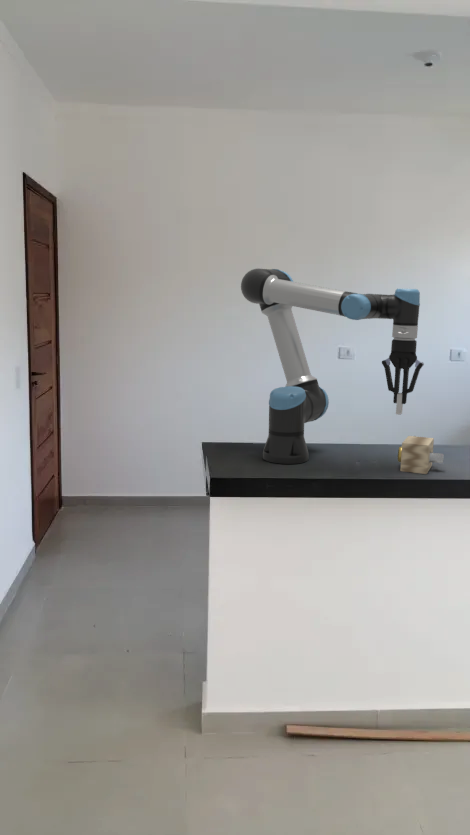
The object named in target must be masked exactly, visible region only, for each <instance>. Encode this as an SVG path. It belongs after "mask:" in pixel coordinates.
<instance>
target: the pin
mask: <svg viewBox="0 0 470 835" xmlns="http://www.w3.org/2000/svg"><path fill="white" fill-rule="evenodd" d="M401 453H402V445H401V446H399V447H398V450H397V462H398V463H401ZM429 462H432V464H433V463H434V464H443V463H444V453H440V452H439V453H438V452H437V453H436V452H433V453H430V457H429Z"/></svg>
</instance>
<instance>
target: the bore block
mask: <svg viewBox="0 0 470 835" xmlns="http://www.w3.org/2000/svg"><path fill="white" fill-rule="evenodd" d="M415 436H416V435H408V436H407V437H406V438H405V439H404V440H403V441H402V442H401V447H402V453H401V462H400V472H403V473H404V472H405V473H411V474H413V473H414V474H420V475H421V474H423V475H427V474H428V473H429V471H430V470H431V468H432V466H433V462H429V457H430V453H434V442H435V439H434V437H425V436H424V437H423V436H416V437H415Z"/></svg>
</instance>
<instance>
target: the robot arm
mask: <svg viewBox="0 0 470 835" xmlns="http://www.w3.org/2000/svg"><path fill="white" fill-rule="evenodd" d="M240 290H241V294H242V295H243V297H244V298H245V300H246V301H248V302H250V303H252V304H258V305H259V307H260V311H261V314H263V315H265V316H267V319H268V322H269V326H270V330H271V332H272V335H273V340H274V343H275V345H276V350H277V353H278V356H279V359H280V362H281V366H282V369H283V372H284V377H285V379H286V384H285V386H280V387H277V388H274V389H273V390H271V391H270V394H269V399H268V405H269V406H268V436H267V439H266V442H265V444H264V447H263V451H262V459H263V460H264V461H266V462H270V463H275V464H280V465H281V464H285V465H289V464H290V465H295V464H301V463H305V462H308V461H309V455H310V454H309V449H308V447H307V443H306V439H305V424H307V423H309V422H315V421H317V420H319V419H320V418H321V417H323V416H324V415H325V414H326V412H327V410H328V408H329V403H330V402H329V400H330V399H329V397H328V396H329V395H328V394H327V392H326V390H324V388H322V387H321V386H320V384H319V382H318V378H316V377H315V376H313V375H312V374H311V371H310V367H309V363H308V361H307V357H306V354H305V351H304V347H303V343H302V340H301V337H300V334H299V329H298V327H297V323H296V321H295V317H294V314H293V310H292V309H293V307H296V308H300V309H305V310H311V311H315V312H321V313H326V314H331V315H336V316H340V317H345V318H347V319H349V320H352V321H359V320H368V319H369V320H371V319H379V320H380V319H382V320H386V319H387V320H393V322H392V336H391V337H392V338H393V339H392V340H391V348H390V350H391V351H390V354H389V355H388V358H386V359H383V360H382V361H381V365H382V366H383V367H384V372H385V373H384V374H385V377H386V383H387V390H388V391H389V392H391V393H393V404H396V407H395V415H402V414H403V406H404V405H405V404H406V403H407V400H408V399H407V396H408V394H409V393H412V392H413V391H414V389H415V386H416V384H417V380H418V378H419V374H420V371H421V369H422V367H423V366H424V365H425V363H424V362H423V361H420V360H419V359H418V356H417V340H416V339H417V338H418V330H419V329H418V328H419V317H420V316H419V315H420V306H421V301H420V300H421V299H420V298H421V294H420V290H419V289H417V288H396V289H395V291H394V294H381V293H379V294H378V293H377V294H376V293H364V294H363V293H357V292H352V291H346V290H340V289H336V288H335V289H334V288H329V287H324V286H317V285H314V284H307V283H301V282H297V281H294V279H293V278H292V276H291V275H290V274H289V273H288V272H286V271H283V270H280V269H277V268H271V269H267V268H253V269H251V270H249V271H247V272H246V273H245V275H244V276H243V277H242V280H241V282H240ZM391 364H392V365H393V367H394V372H395V373H394V384H393V378H392V377H393V376H392V371H391V366H390V365H391ZM413 365H414V367H415V369H414V372H413V375H412V377H411V380H410V383H409V373H410V369H411V367H412V366H413ZM402 370H403V371H402ZM401 371H402V372H403V377H402V387H401V388H402V389H401V392H400V385H401V384H400V383H401V382H400V381H401Z"/></svg>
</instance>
